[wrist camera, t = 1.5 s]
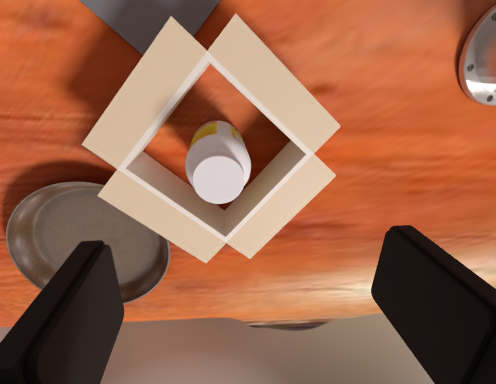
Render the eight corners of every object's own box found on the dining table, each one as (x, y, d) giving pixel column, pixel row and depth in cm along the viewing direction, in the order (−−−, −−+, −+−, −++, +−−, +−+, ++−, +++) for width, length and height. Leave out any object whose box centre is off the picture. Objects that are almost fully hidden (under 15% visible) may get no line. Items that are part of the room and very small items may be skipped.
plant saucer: (201, 235, 41) (200, 248, 38) (118, 311, 45) (111, 328, 42) (78, 140, 34) (64, 147, 31) (-7, 243, 38) (-26, 257, 35)
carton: (337, 136, 37) (362, 149, 30) (228, 247, 42) (229, 278, 36) (203, -4, 29) (199, -26, 22) (90, 154, 34) (61, 173, 28)
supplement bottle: (187, 161, 36) (172, 204, 24) (199, 112, 34) (189, 133, 22) (235, 174, 37) (242, 220, 26) (249, 128, 35) (265, 156, 23)
